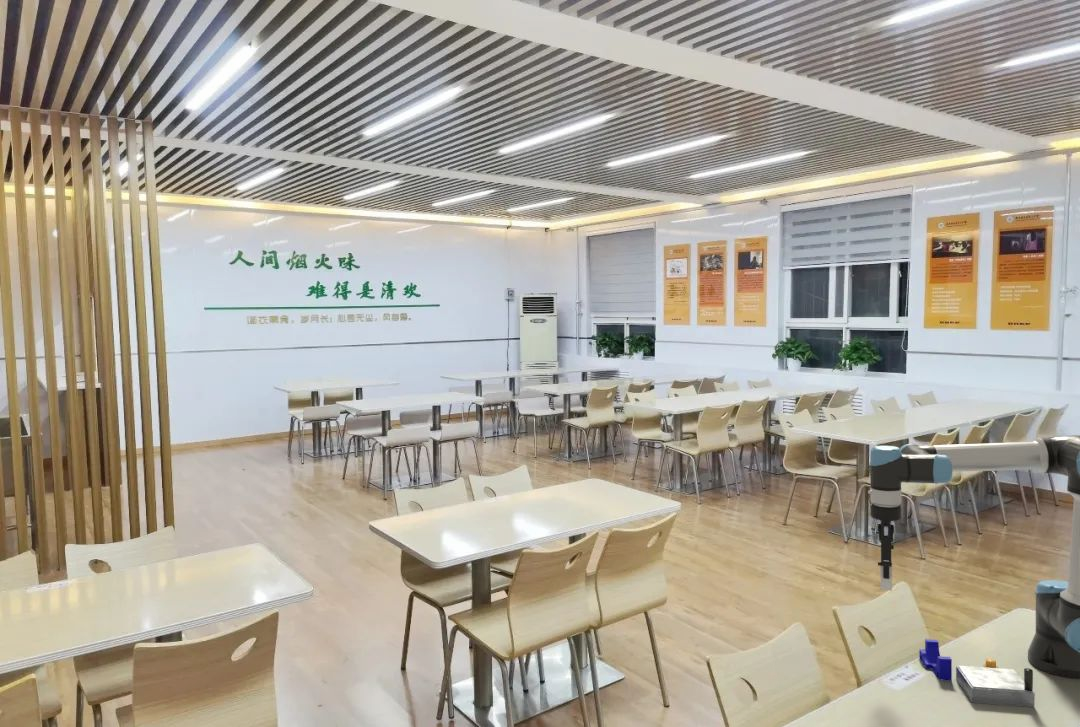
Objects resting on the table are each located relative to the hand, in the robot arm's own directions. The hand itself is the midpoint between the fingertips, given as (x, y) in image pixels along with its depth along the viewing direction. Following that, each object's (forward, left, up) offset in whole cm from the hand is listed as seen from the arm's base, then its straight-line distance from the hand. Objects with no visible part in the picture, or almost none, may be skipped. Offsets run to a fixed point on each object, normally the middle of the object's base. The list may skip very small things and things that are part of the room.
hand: (886, 580), depth 198 cm
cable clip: (-13, -5, -26) cm, 30 cm away
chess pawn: (-27, -5, -26) cm, 38 cm away
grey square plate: (-24, +6, -26) cm, 36 cm away
